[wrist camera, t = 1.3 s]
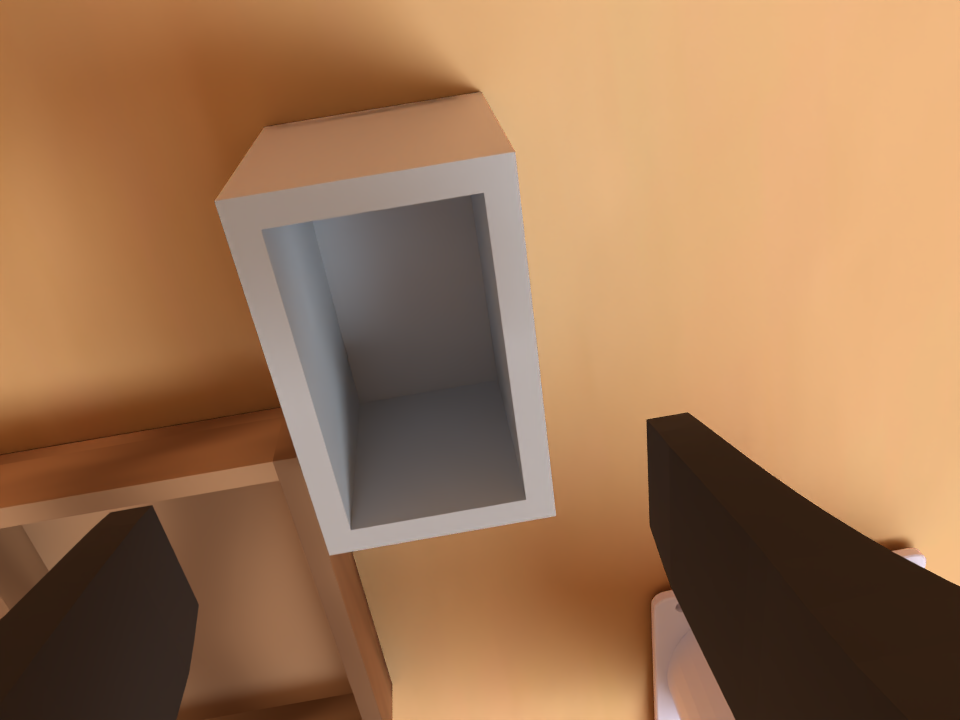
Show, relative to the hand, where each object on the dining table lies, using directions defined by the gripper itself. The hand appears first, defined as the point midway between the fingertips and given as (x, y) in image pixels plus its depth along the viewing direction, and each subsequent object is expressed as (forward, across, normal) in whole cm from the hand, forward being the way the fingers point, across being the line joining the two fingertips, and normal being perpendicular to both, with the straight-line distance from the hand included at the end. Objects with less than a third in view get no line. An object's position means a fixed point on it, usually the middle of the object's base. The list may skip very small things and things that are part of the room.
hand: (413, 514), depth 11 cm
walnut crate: (+9, +8, +10) cm, 16 cm away
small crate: (+9, 0, 0) cm, 9 cm away
